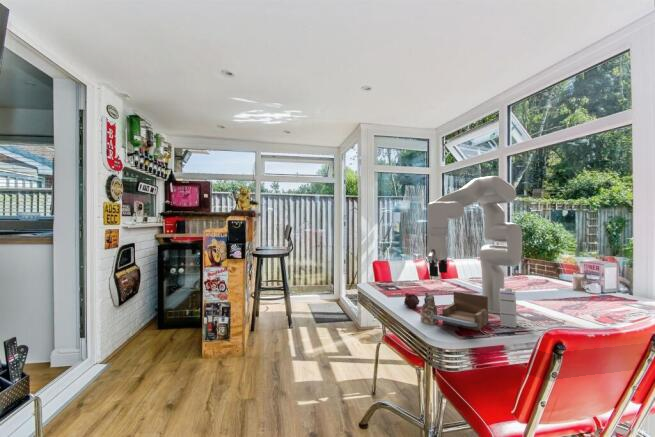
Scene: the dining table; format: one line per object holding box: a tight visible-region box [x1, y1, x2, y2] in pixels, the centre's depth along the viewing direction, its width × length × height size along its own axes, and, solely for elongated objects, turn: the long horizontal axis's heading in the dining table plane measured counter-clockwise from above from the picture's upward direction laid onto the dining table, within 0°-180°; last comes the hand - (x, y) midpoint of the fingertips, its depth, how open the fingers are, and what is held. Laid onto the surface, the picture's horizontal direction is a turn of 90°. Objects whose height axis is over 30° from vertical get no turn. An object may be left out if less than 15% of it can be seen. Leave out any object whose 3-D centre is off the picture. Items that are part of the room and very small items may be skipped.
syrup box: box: [499, 288, 517, 329], centre depth 122 cm, size 6×6×14 cm
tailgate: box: [432, 314, 478, 327], centre depth 116 cm, size 2×14×10 cm
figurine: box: [420, 292, 439, 325], centre depth 127 cm, size 7×7×12 cm
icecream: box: [403, 293, 420, 309], centre depth 148 cm, size 7×7×15 cm
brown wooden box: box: [441, 291, 489, 332], centre depth 125 cm, size 14×14×11 cm
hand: (438, 274), depth 118 cm, fingers open, 9 cm apart
